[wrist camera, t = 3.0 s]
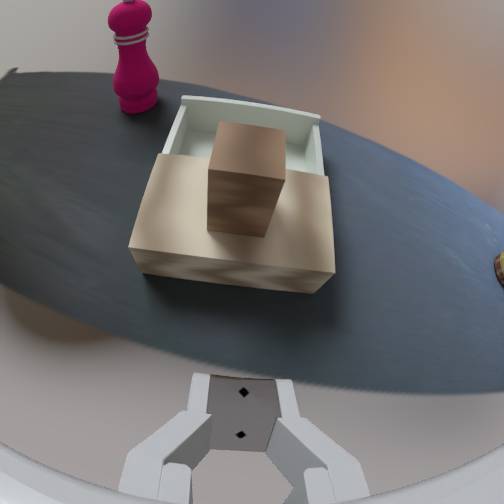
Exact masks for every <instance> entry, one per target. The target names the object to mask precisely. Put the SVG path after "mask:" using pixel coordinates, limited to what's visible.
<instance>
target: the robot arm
mask: <svg viewBox="0 0 504 504" xmlns="http://www.w3.org/2000/svg"><path fill="white" fill-rule="evenodd" d="M210 449H217V450H238V451H255V452H265V453H266V455H267V456H268V457H269V459H270V460H271V461H272V462H273V464H274V465H275V466H276V467H277V468H278V470H279V471H280V472H281V473H282V474H283V475H284V477H285V478H286V479H287V480H288V482H289V483H290V484H291V485H292V486H293V487H294V488H293V490H292V491H291V493H290V494H289V496H288V498H287V499H286V500H285V502H284V503H283V504H504V444H503V445H501V446H499V447H497V448H495V449H494V450H492V451H490V452H488V453H486V454H484V455H482V456H480V457H478V458H476V459H474V460H472V461H470V462H468V463H466V464H464V465H461V466H459V467H457V468H455V469H452V470H450V471H448V472H445V473H442V474H440V475H437V476H435V477H432V478H429V479H427V480H424V481H421V482H418V483H415V484H412V485H409V486H406V487H402V488H399V489H396V490H392V491H388V492H385V493H381V494H376V495H372V496H371V495H370V492H369V489H368V486H367V483H366V480H365V477H364V474H363V471H362V468H361V465H360V463H359V461H358V460H356V459H355V458H354V457H353V456H351V455H350V454H349V453H347V452H346V451H345V450H344V449H343V448H341V447H340V446H339V445H338V444H336V443H335V442H334V441H333V440H331V439H330V438H329V437H328V436H327V435H325V434H324V433H323V432H322V431H321V430H320V429H318V428H317V427H316V426H315V425H314V424H312V423H311V422H310V421H309V420H308V419H307V418H301V416H300V411H299V407H298V403H297V398H296V394H295V390H294V386H293V382H292V381H291V380H285V379H275V380H274V379H253V378H238V377H229V376H220V375H212V374H211V377H210V375H208V374H202V373H193V376H192V382H191V388H190V394H189V400H188V406H187V411H180V412H179V413H178V414H177V415H176V416H174V417H173V418H172V419H171V420H169V421H168V422H167V423H166V424H165V425H163V426H162V427H161V428H160V429H158V430H157V431H156V432H155V433H153V434H152V435H151V436H149V437H148V438H147V439H145V440H144V441H143V442H141V443H140V444H139V445H137V446H136V447H135V448H134V449H132V450H131V451H130V452H128V455H127V458H126V461H125V465H124V469H123V472H122V476H121V480H120V483H119V487H118V491H116V490H112V489H109V488H105V487H102V486H99V485H96V484H92V483H90V482H87V481H84V480H81V479H78V478H75V477H73V476H70V475H67V474H65V473H62V472H60V471H58V470H55V469H53V468H50V467H48V466H46V465H44V464H42V463H39V462H37V461H35V460H33V459H31V458H29V457H27V456H25V455H23V454H21V453H19V452H17V451H15V450H14V449H12V448H10V447H8V446H6V445H5V444H3V443H1V442H0V504H193V499H192V475H191V471H192V470H193V469H194V468H195V467H196V466H197V465H198V463H199V462H200V461H201V460H202V459H203V458H204V457H205V455H206V454H207V453H208V452H209V451H210Z"/></svg>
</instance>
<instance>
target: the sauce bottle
mask: <svg viewBox="0 0 504 504" xmlns="http://www.w3.org/2000/svg"><path fill="white" fill-rule="evenodd" d="M495 270H496V274H497V277H498V279H499V281H500V282H501V283H502V284H503V285H504V251H503V252H502V253H501V254H500V255H498V256H497V257H496V259H495Z"/></svg>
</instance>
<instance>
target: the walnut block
mask: <svg viewBox="0 0 504 504" xmlns="http://www.w3.org/2000/svg"><path fill="white" fill-rule="evenodd" d="M285 180H286V135H285V130H280V129H274V128H268V127H262V126H255V125H248V124H241V123H233V122H225V121H219V124H218V128H217V132H216V137H215V141H214V145H213V149H212V154H211V158H210V163H209V167H208V189H207V231H214V232H222V233H230V234H238V235H245V236H253V237H261V238H264V237H265V234H266V232H267V229H268V226H269V224H270V221H271V218H272V215H273V213H274V210H275V207H276V204H277V202H278V199H279V196H280V193H281V191H282V188H283V185H284V183H285Z"/></svg>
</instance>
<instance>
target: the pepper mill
mask: <svg viewBox="0 0 504 504" xmlns="http://www.w3.org/2000/svg"><path fill="white" fill-rule="evenodd" d="M123 1H124V2H122V3H120V4H118V5H117V6H115V7H114V8H113V9H112V10H111V12H110V14H109V16H108V25H109V28H110V29H111V30H113V31H114V32H115V33H114V35H113V37H114V43H115V44H117V45H118V49H119V62H118V65H117V69H116V72H115V74H114V79H113V88H114V91H115V93H116V94H117V95H118V96H120V97H119V103H120V108H121V110H123V111H124V112H126V113H132V114H135V113H141V112H144V111H147V110H149V109H150V108H152V107H153V106H154V105H155V104H156V102H157V90H156V86H157V85H158V82H159V75H158V71H157V69H156V67H155V65H154V64H153V62H152V61H151V59H150V58H149V56H148V53H147V51H146V38H147V37H148V36H149V33H148V30H149V28H148V27H147V26H146V25H147V24H148V23H149V21H150V20H151V17H152V11H151V8H150V6H149V5H148V3H146V2H144V1H142V0H123Z"/></svg>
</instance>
